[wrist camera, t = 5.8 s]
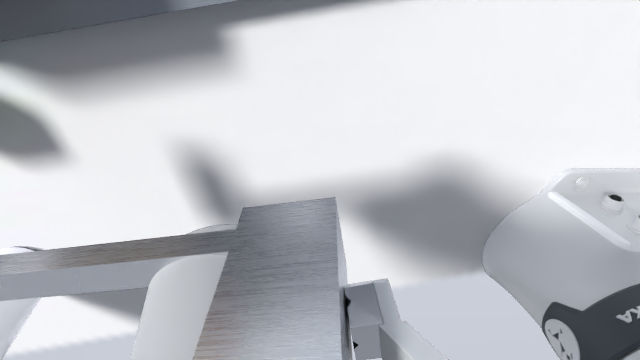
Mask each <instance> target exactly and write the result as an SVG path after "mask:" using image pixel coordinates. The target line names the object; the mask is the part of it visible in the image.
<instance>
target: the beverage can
mask: <svg viewBox="0 0 640 360" xmlns="http://www.w3.org/2000/svg"><path fill="white" fill-rule="evenodd" d="M237 225H238V224H224V225H214V226H209V227H205V228H201V229H198V230H195V231H193V232H190V233H188V234H197V233H206V232H215V231H224V230H233V229H236V228H237ZM188 234H186V235H188ZM226 258H227V256H222V255H202V256H194V257H189V258H184V259H181V260H178V261H175V262H173V263H171V264H169V265H167V266H165V267H164V268H162V269H161V270H160V271H159V272H158V273H156V274H155V276H154V277H153V278H152V280H151V282H150V284H149V287H148V291H147V295H146V299H145V303H144V307H143V311H142V315H141V319H140V323H139V327H138V331H137V335H136V339H135V343H134V347H133V351H132V355H131V359H130V360H192V359H193V356H194V353H195V350H196V347H197V344H198V341H199V338H200V335H201V332H202V329H203V326H204V323H205V320H206V317H207V314H208V311H209V308H210V305H211V302H212V300H213V297H214V294H215V291H216V288H217V285H218V282H219V279H220V276H221V273H222V270H223V267H224V264H225V261H226Z"/></svg>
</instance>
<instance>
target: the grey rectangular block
mask: <svg viewBox="0 0 640 360" xmlns="http://www.w3.org/2000/svg"><path fill="white" fill-rule="evenodd" d="M202 255H222V256H227V258H226V261H225V264H224V267H223V270H222V273H221V276H220V279H219V282H218V285H217V288H216V291H215V294H214V297H213V300H212V302H211V305H210V308H209V311H208V314H207V317H206V320H205V323H204V326H203V329H202V332H201V335H200V338H199V341H198V344H197V347H196V350H195V353H194V356H193V359H192V360H352V346H351V330H350V321H349V315H348V309H347V302H346V296H345V289H344V285H347V270H346V259H345V253H344V247H343V241H342V235H341V229H340V223H339V216H338V210H337V204H336V198H335V197H333V198H324V199H316V200H307V201H299V202H290V203H281V204H273V205H264V206H256V207H247V208H243V210H242V213H241V216H240V219H239V222H238V225H237V228H236V229H233V230H224V231H215V232H206V233H197V234H188V235H179V236H170V237H160V238H151V239H142V240H133V241H124V242H115V243H106V244H97V245H88V246H79V247H69V248H60V249H51V250H42V251H33V252H24V253H15V254H6V255H0V301H7V300H18V299H28V298H39V297H50V296H60V295H71V294H82V293H92V292H103V291H114V290H124V289H135V288H145V287H149V284H150V282H151V280H152V278H153V277H154V276H155V274H156V273H158V272H159V271H160V270H161V269H162V268H164V267H165V266H167V265H169V264H171V263H173V262H175V261H178V260H181V259H184V258H189V257H194V256H202Z"/></svg>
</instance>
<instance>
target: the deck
mask: <svg viewBox="0 0 640 360" xmlns="http://www.w3.org/2000/svg"><path fill="white" fill-rule="evenodd" d="M231 1H237V0H0V42H1V41H6V40H12V39H18V38H24V37H29V36H35V35H41V34H47V33H52V32H58V31H64V30H70V29H76V28H81V27H87V26H93V25H99V24H104V23H110V22H116V21H122V20H127V19H133V18H139V17H145V16H151V15H156V14H162V13H168V12H174V11H179V10H185V9H191V8H197V7H202V6H208V5H214V4H220V3H226V2H231Z"/></svg>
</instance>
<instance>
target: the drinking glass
mask: <svg viewBox="0 0 640 360" xmlns="http://www.w3.org/2000/svg"><path fill="white" fill-rule="evenodd" d="M24 252H33V250H30V249H26V248H20V247H9V248H4V249H1V250H0V255H6V254H15V253H24ZM40 299H41V297H39V298H28V299H18V300H7V301H0V360H2V359H3V357H4V356H5V354H6V353H7V351H8V349H9V348H10V346H11V345H12V343H13V341H14V340H15V338H16V337H17V335H18V333H19V332H20V330H21V329H22V327H23V325H24V324H25V322H26V321H27V319H28V317H29V316H30V314H31V313H32V311H33V310H34V308H35V306H36V305H37V303H38V302H39V300H40Z"/></svg>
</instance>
